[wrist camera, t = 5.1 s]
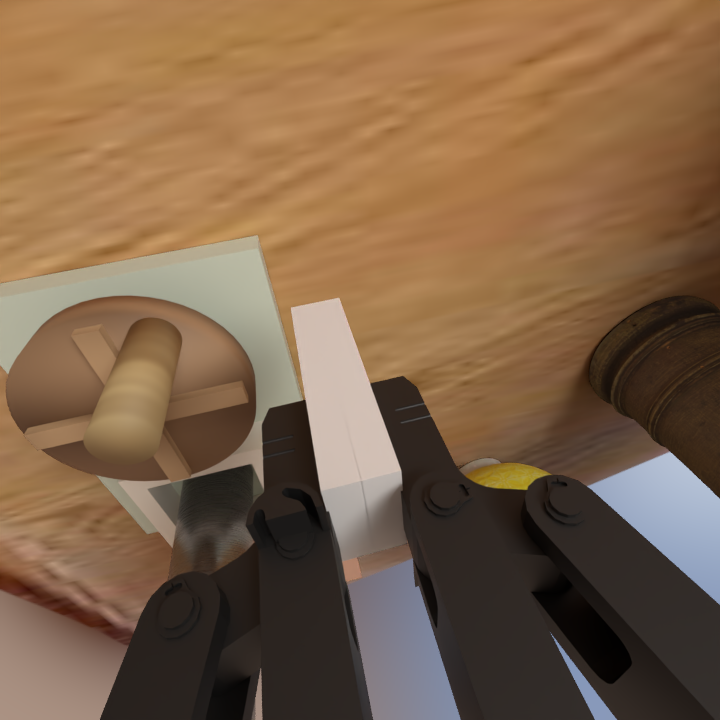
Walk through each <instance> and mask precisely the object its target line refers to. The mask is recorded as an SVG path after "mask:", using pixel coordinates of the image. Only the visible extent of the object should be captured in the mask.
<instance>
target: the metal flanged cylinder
mask: <svg viewBox="0 0 720 720" xmlns="http://www.w3.org/2000/svg"><path fill="white" fill-rule="evenodd" d="M252 505H253V470H252V467H251V466H250V464H248V465H244V466H239V467H235V468H231V469H227V470H223V471H219V472H215V473H211V474H206V475H202V476H198V477H194V478H190V479H186V480H183V484H182V490H181V497H180V503H179V510H178V516H177V523H176V530H175V536H174V543H173V549H172V556H171V562H170V569H169V576H168V581H169V580H170V579H172V578H174V577H175V576H177V575H179V574H183V573H187V572H192V571H195V572H200V573H205V574H207V575H208V576H209V575H211V574H212V573H214V572H215V571H217V570H219V569H220V568H222V567H224V566H225V565H227V564H228V563H230V562H232V561H233V560H235V559H237V558H238V557H239V556H240V555H242V554H243V553H244V552H246V551H247V550H248V549H249V548H250V546H251V545H252V544H253V543H254V540H253V538H252V537H251V535H250V533H249V531H248V529H247V528H246V526H245V525H246V520H247V515H248V511H249V510H250V508H251V506H252ZM252 720H255V702H254V708H253V714H252Z"/></svg>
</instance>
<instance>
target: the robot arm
mask: <svg viewBox="0 0 720 720" xmlns="http://www.w3.org/2000/svg"><path fill="white" fill-rule="evenodd" d="M291 312H292V318H293V324H294V331H295V337H296V343H297V349H298V355H299V361H300V367H301V373H302V380H303V386H304V392H305V398H306V400H302V401H298V402H294V403H289V404H285V405H281V406H276V407H272V408H269V410H268V412H267V414H266V416H265V418H264V421H263V423H262V443H263V445H262V450H263V478H264V493H262V494H261V495H260V496H259V497H258V498H257V499H256V500H255V502H254V503H253V505H252V506H251V508H250V510H249V511H248V515H247V520H246V525H245V526H246V528H247V529H248V531H249V533H250V535H251V537H252V538H253V540H254V543H253V544H252V545H251V546H250V548H249V549H248V550H247V551H246V552H244V553H243V554H242V555H240V556H239V557H238V558H237V559H235V560H233V561H232V562H230V563H228V564H227V565H225V566H224V567H222V568H220V569H219V570H217V571H215V572H214V573H212V574H211V575H209V576H208V575H207V574H205V573H200V572H195V571H192V572H187V573H183V574H179V575H177V576H175V577H174V578H172V579H170V580H169V581H167V582H165V583H164V584H163V585H162V586H161V587H160V588H159V589H158V590H157V591H156V592H155V593H154V594H153V595H152V596H151V597H150V599H149V601H148V603H147V605H146V606H145V608H144V610H143V612H142V614H141V616H140V619H139V621H138V624H137V626H136V629H135V631H134V634H133V636H132V639H131V642H130V644H129V647H128V649H127V652H126V655H125V657H124V660H123V662H122V665H121V667H120V670H119V672H118V675H117V677H116V680H115V683H114V685H113V688H112V690H111V693H110V695H109V698H108V700H107V703H106V705H105V708H104V710H103V713H102V715H101V718H100V720H252V714H253V708H254V702H255V697H256V691H257V685H258V679H259V673H260V668H261V673H262V674H261V675H262V714H263V720H373V717H372V712H371V706H370V701H369V696H368V691H367V685H366V681H365V674H364V669H363V664H362V658H361V654H360V648H359V642H358V638H357V632H356V626H355V621H354V616H353V610H352V605H351V600H350V595H349V590H348V586H347V583H346V580H345V574H344V569H343V563H342V561H346V560H350V559H353V558H357V557H361V556H364V555H368V554H372V553H375V552H379V551H383V550H386V549H390V548H394V547H397V546H401V545H404V544H407V540H408V543H409V547H410V550H411V553H412V556H413V565H414V579H415V586H416V587H417V586H419V587H420V591H421V594H422V597H423V600H424V603H425V607H426V610H427V613H428V616H429V619H430V622H431V626H432V629H433V632H434V635H435V639H436V642H437V645H438V648H439V651H440V654H441V658H442V661H443V664H444V667H445V670H446V673H447V677H448V680H449V683H450V686H451V690H452V693H453V696H454V699H455V702H456V706H457V709H458V712H459V715H460V718H461V720H595V719H594V717H593V715H592V713H591V711H590V709H589V707H588V706H587V704H586V702H585V700H584V698H583V696H582V694H581V692H580V690H579V688H578V686H577V684H576V682H575V680H574V678H573V676H572V674H571V672H570V670H569V668H568V666H567V664H566V663H565V661H564V659H563V657H562V655H561V653H560V651H559V649H558V647H557V645H556V643H555V641H554V639H553V637H552V635H553V636H554V638H555V639H556V640H557V642H558V643H559V644H560V645H561V647H562V648H563V649H564V651H565V652H566V653H567V655H568V656H569V657H570V659H571V660H572V661H573V662H574V664H575V665H576V666H577V668H578V669H579V670H580V672H581V673H582V674H583V676H584V677H585V678H586V679H587V681H588V682H589V683H590V685H591V686H592V687H593V689H594V690H595V691H596V693H597V694H598V695H599V697H600V698H601V699H602V701H603V702H604V703H605V704H606V706H607V707H608V708H609V710H610V711H611V712H612V714H613V715H614V716H615V718H616V719H617V720H720V605H719V604H718V603H717V602H716V601H715V600H714V599H713V598H711V597H710V596H709V595H708V594H707V593H706V592H705V591H704V590H703V589H701V588H700V587H699V586H698V585H697V584H696V583H695V582H694V581H692V580H691V579H690V578H689V577H688V576H687V575H686V574H685V573H683V572H682V571H681V570H680V569H679V568H678V567H677V566H676V565H675V564H674V563H672V562H671V561H670V560H669V559H668V558H667V557H666V556H665V555H663V554H662V553H661V552H660V551H659V550H658V549H657V548H656V547H655V546H653V545H652V544H651V543H650V542H649V541H648V540H647V539H646V538H644V537H643V536H642V535H641V534H640V533H639V532H638V531H637V530H636V529H635V528H633V527H632V526H631V525H630V524H629V523H628V522H627V521H626V520H624V519H623V518H622V517H621V516H620V515H619V514H618V513H617V512H615V511H614V510H613V509H612V508H611V507H610V506H609V505H608V504H607V503H606V502H604V501H603V500H602V499H601V498H600V497H599V496H598V495H596V493H594V492H593V491H592V490H591V489H590V488H588V487H587V486H585V485H584V484H582V483H581V482H579V481H578V480H575V479H572V478H569V477H566V476H563V475H546V476H543V477H540V478H537V479H535V480H534V481H533V482H532V483H531V484H530V485H529V486H528V488H527V490H522V489H503V488H492V487H486V486H483V485H480V484H478V483H475V482H474V481H472V480H470V479H469V478H467V477H466V476H465V475H464V474H463V473H461V472H460V471H459V469H458V468H457V466H456V465H455V463H454V461H453V459H452V457H451V455H450V453H449V451H448V449H447V447H446V445H445V443H444V441H443V439H442V437H441V435H440V433H439V431H438V429H437V427H436V425H435V423H434V421H433V419H432V417H431V416H430V413H429V411H428V409H427V407H426V405H425V404H424V401H423V399H422V397H421V395H420V393H419V390H418V388H417V387H416V386H415V385H414V384H412V383H411V382H410V381H409V380H407V379H406V378H405V377H403V376H401V377H396V378H392V379H388V380H383V381H379V382H375V383H370V382H369V380H368V377H367V374H366V371H365V368H364V366H363V363H362V360H361V357H360V355H359V352H358V349H357V346H356V344H355V341H354V338H353V335H352V332H351V330H350V327H349V324H348V321H347V319H346V316H345V313H344V310H343V307H342V305H341V302H340V299H339V298H335V299H331V300H326V301H321V302H316V303H311V304H307V305H302V306H297V307H292V308H291ZM406 537H407V538H406ZM550 632H551V633H550ZM551 634H552V635H551Z"/></svg>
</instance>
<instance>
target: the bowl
mask: <svg viewBox="0 0 720 720" xmlns="http://www.w3.org/2000/svg"><path fill="white" fill-rule="evenodd" d="M459 471H460V472H461V473H463V474H464V475H465V476H466V477H467V478H469V479H470V480H472V481H474V482H475V483H478V484H480V485H483V486H486V487H492V488H503V489H522V490H527V488H528V486H529V485H530V484H531V483H532V482H533V481H534V480H535V479H537V478H540V477H543V476H546V475H552V474H550V473H548V472H546V471H544V470H542V469H539V468H536V467H533V466H530V465H525V464H520V463H501V462H500V461H498V460H496V459H492V458H483V459H478V460H475V461H473V462H470V463H468V464H466V465H465V466H463V467H462V468H460V469H459Z"/></svg>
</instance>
